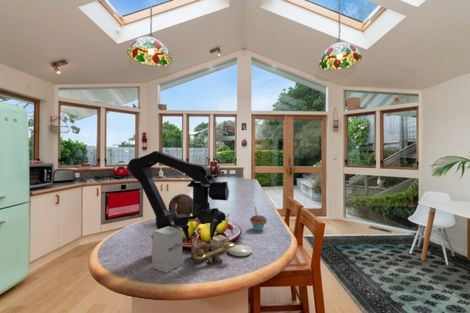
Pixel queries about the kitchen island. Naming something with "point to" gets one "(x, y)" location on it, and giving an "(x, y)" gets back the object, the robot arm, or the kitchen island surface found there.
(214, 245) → the maple block
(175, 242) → the supplement box
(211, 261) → the balance
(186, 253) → the kitchen island surface
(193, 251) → the walnut block
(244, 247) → the dish
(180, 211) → the wooden sphere
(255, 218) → the cupcake
